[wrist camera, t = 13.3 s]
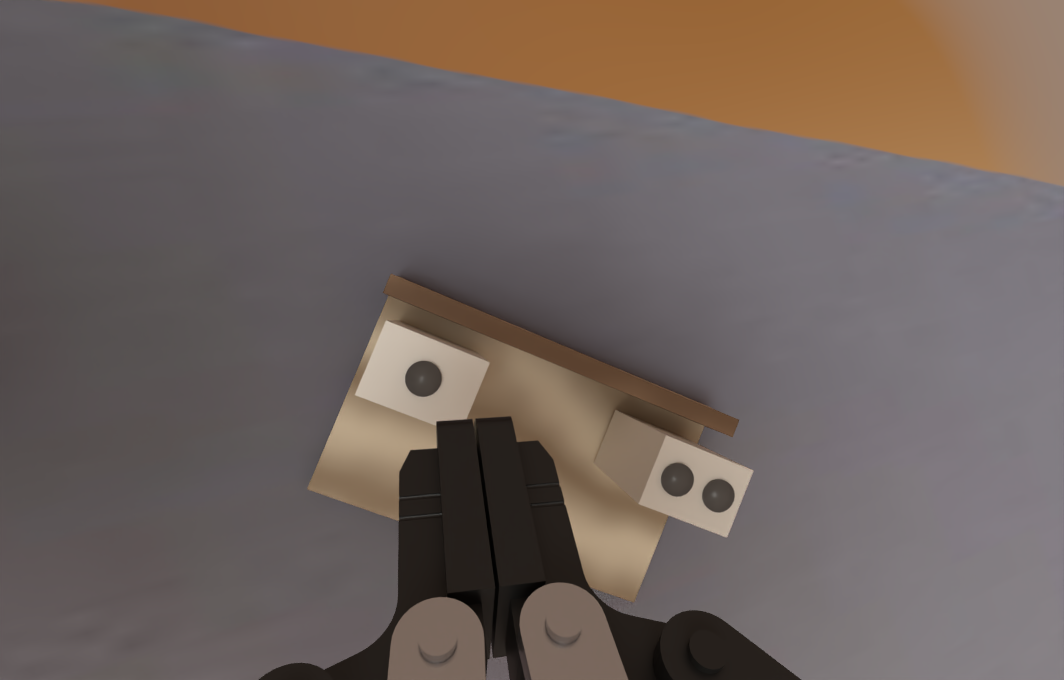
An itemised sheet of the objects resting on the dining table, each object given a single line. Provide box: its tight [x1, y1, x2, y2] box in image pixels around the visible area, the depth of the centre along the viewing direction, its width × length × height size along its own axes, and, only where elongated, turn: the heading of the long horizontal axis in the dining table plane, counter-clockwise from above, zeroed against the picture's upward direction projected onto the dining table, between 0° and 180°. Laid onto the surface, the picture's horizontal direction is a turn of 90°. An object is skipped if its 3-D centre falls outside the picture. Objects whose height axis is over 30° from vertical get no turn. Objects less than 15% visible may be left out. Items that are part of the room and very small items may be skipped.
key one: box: [355, 320, 490, 426], centre depth 33 cm, size 4×6×9 cm
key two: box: [594, 410, 753, 537], centre depth 36 cm, size 4×6×9 cm
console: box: [307, 274, 739, 602], centre depth 38 cm, size 15×24×5 cm, turn 67°
